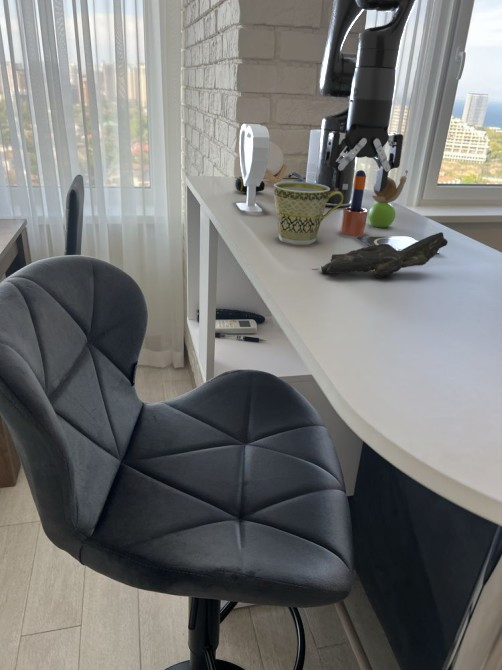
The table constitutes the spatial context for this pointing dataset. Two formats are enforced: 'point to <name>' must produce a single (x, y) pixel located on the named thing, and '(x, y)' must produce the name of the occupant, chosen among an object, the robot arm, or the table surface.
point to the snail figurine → (385, 203)
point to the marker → (358, 191)
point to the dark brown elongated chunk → (386, 257)
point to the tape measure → (243, 189)
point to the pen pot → (353, 222)
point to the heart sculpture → (253, 161)
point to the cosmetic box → (313, 156)
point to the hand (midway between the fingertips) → (358, 190)
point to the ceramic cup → (301, 210)
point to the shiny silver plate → (390, 241)
